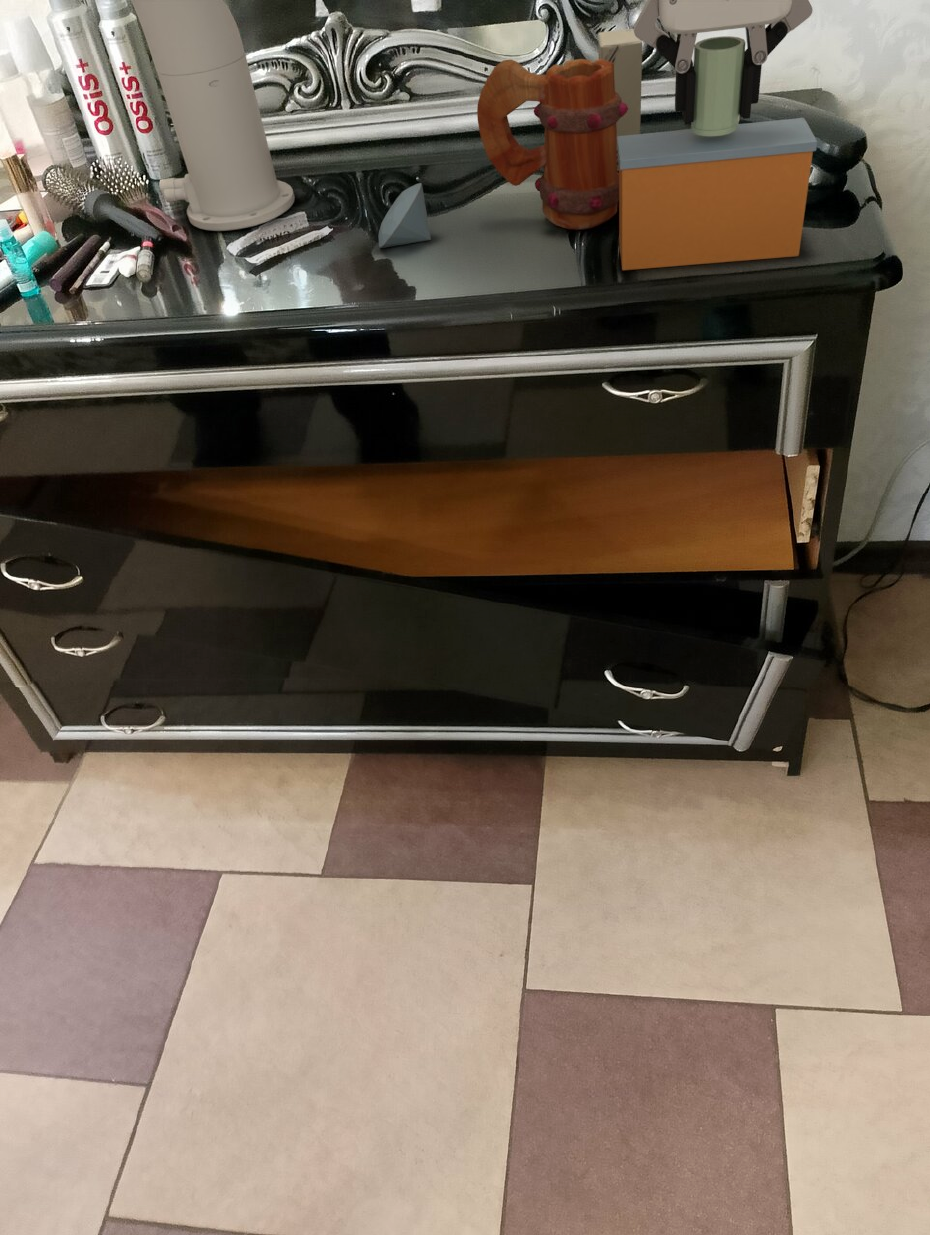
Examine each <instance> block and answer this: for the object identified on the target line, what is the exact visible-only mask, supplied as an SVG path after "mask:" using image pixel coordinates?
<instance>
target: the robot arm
mask: <svg viewBox="0 0 930 1235" xmlns="http://www.w3.org/2000/svg"><path fill="white" fill-rule="evenodd" d="M130 2H131V4H132V6H133V8H134V11H135V13H136V16H137V18H138V21H139V23H140V26H141V29H142V32H143V34H144V38H145V42H146V44H147V46H148V50H149V52H150V55H151V59H152V61H153V65H154V68H155V71H156V74H157V77H158V80H159V84H160V86H161V90H162V93H163V96H164V99H165V102H166V106H167V110H168V112H169V115H170V118H171V122H172V125H173V128H174V131H175V134H176V138H177V142H178V144H179V147H180V151H181V154H182V157H183V161H184V164H185V166H186V169H187V173H185V175H184V177H179V178H176V177H170V178H161V179H160V180H159V183H158V184H159V185H158V186H159V190H160V193H161V195H162V197H164V200H165V201H166V203H170V202H178V201H185V202H186V203H188V205H187V209H186V215H187V217H188V218H187V219H188V220H189V222H190V224H191V225H192V226H193V227H196V228H197V229H200V230H204V231H211V232H226V231H237V230H243V229H247V228H252V227H255V226H258V225H261V224H264V223H267V222H270V221H272V220H275V219H276V218H278V217H281V215H284V213H286V212H287V211H289V209H290V208H292V206H293V204H294V203H295V198H296V197H295V193H294V189H293V187H292V186H291V185H290V184H289V183H287V182H285V181H281V180H279V179H277V176H276V172H275V168H274V164H273V160H272V155H271V152H270V148H269V144H268V140H267V135H266V131H265V128H264V123H263V120H262V116H261V111H260V108H259V104H258V99H257V96H256V91H255V87H254V83H253V79H252V76H251V71H250V68H249V63H248V60H247V56H246V52H245V48H244V43H243V41H242V36H241V34H240V30H239V28H238V24H237V21H236V20H235V18H234V16H233V14H232V12H231V10H230V8H229V6H228V5H227V4H226V2H225V1H224V0H130ZM812 14H813V7H812V5H811V3H810V1H809V0H646V2H645V3H644V6H643V8H642V10H641V12H640V13H639V15H638V16H637V18H636V20H635V22H634V24H633V28H632V29H634V34H635V36H636V37H637V38H639V39H640V40H642V43H643V42H644V43H645V44H647V45H648V46H650V47H651V48H653V49H655V50H657V51H658V53H659V54H660V55H661V56H662V57H663V58H664V59H665V60H666V61H667V62H668V63H669V65H671V66H672V67H673V68H674V69H675V86H674V87H675V88H674V90H675V91H674V110H675V113H677V112H681V116H682V119H683V123H684V125H685V126H687V125H688V126H689V125H691V122H694V104H695V84H696V73H695V70H694V68H693V64H694V60H693V56H694V45H695V44H696V40H697V37H698V34H700V33H701V34H702V33H710V32H720V31H728V30H737V29H744V28H745V38H746V40H745V41H746V47H747V48H745V55H744V66H743V79H742V91H741V104H740V118H742V119H743V120H746V119H750V118H751V111H752V105H755V104H758V103H759V101H760V100H759V98H760V89H761V77H762V68H763V64H765V62H767V59H768V57H769V55H771V53H772V52H773V51H774V50H775V49H776V47H778V45H779V44H781V42H782V41H783V40H784V38H786V37H787V35H788V34H789V33H790V32H792V31H794V30H795V29H796V28H798V27H799V26H800V25H801V24H802V23H804V22H805V21H806V20H808V19H809V18H810V17H811V16H812ZM658 18H659V20H660V24H661V26H662V27H663V29H664V30H665V31H664V30H662V29H661V28H660V27H658V25H656V23H657V21H658ZM766 25H767V26H766ZM669 33H671V34H675V35H676V36H675V39H674V38H673V37H672V36H671V35H670V34H669Z"/></svg>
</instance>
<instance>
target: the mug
mask: <svg viewBox="0 0 930 1235" xmlns="http://www.w3.org/2000/svg"><path fill="white" fill-rule="evenodd" d="M526 102H537V103H538V104H536V106H535V107H534V110H533V115H534V116H535V117H537V119H538V120H539V122H540V125H541V126H543V127H544V144H542V145H540V146H536V147H533V148H531V149H528V148H526V147H524V146H523V145H520V143H519V142H518V141H517V140H516V138H515V137H514V135H513V134H512V130H511V126H510V122H509V118H508V116H509V115H510V114H512V112H514V111H515V110H517V109H518V108H520V107H521V106H522V105H523V104H525V103H526ZM627 111H628V107H627V105H626V104H625V103H623V102H622V99H621V97H620V95H619V94H618V93H617V92H615V81H614V63H613V62H609V61H606V60H604V59H599V58H598V59H596V60H594V61H593V62H592V61H591V60H590V59H586V58H577V59H570V60H566V61H565V62H564V63H563V65H561V64H553V65H551V67H550V68H548V69H547V71H546V73H545V74H540V73H539V74H538V73H533V72H530V71H529V70H528V69H527V68H525V67H524V66H522V65H521V64H520V63H519V62H518V61H516V60H514V59H504V60H502V61H500V62H499V63H498V64H496V66H494V67H493V69H492V71H491V72H490V74H489V75H488V77H487V78H486V79H485V83H484V85H483V87H482V88H481V91H480V95H479V99H478V102H477V109H476V113H477V115H476V117H477V123H478V131H479V135H480V140H481V142H482V146H483V148H484V150H485V154H486V157H487V158H488V160H489V161H490V163H491V164H492V165H493V167H494V168H495V169H496V171H497V172H498V174H500V176H502V177H503V178H504V179H505V180H506V181H507V182H508V183H510V184H511V186H515V187H518V186H520V185H521V184H522V183H523V182H525V180H527V179H528V178H530V177H531V176H533V175H534V174H535V173H536V172H538V171H539V170H540V169H542V168H543V173H542V175H541V176H540V177H538V178H537V179H536V180H535V182H534V188H535V189H536V190H537V192H539V197H540V200H541V201H542V206H541V212H542V213H543V215H544V217H545V218H546V220H548V222H550V223H551V224H553V225H555V226H558V227H561V228H563V229H567V230H574V231H578V230H582V231H585V230H587V229H593V228H595V227H599V226H600V225H602V224H603V223H606V222H608V221H610V220H611V219H612V218H613V217H614V216H615V215H616V214H617V212H618V203H619V171H617V127H616V122H617V121H618V120H619V119H620V118H621V117H622V116H624V115H625V114H626V113H627Z"/></svg>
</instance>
